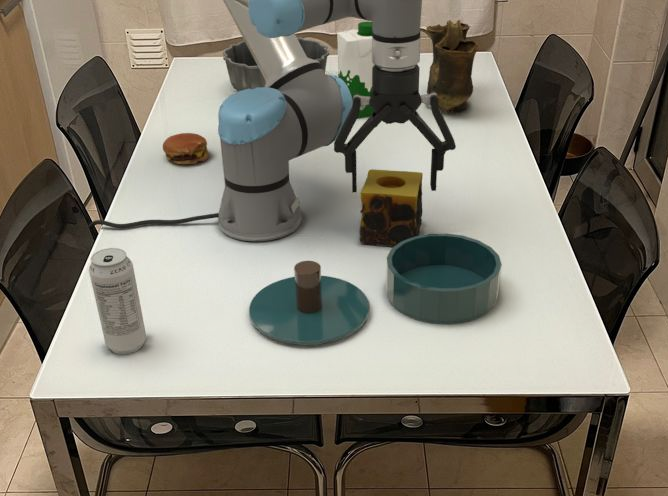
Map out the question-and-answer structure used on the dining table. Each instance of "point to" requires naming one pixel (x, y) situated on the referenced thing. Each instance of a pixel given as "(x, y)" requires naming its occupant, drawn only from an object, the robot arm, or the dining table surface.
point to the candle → (390, 207)
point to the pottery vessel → (451, 66)
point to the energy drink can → (117, 300)
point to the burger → (186, 148)
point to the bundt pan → (247, 71)
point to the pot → (443, 278)
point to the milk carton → (356, 62)
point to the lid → (309, 307)
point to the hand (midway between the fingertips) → (393, 188)
